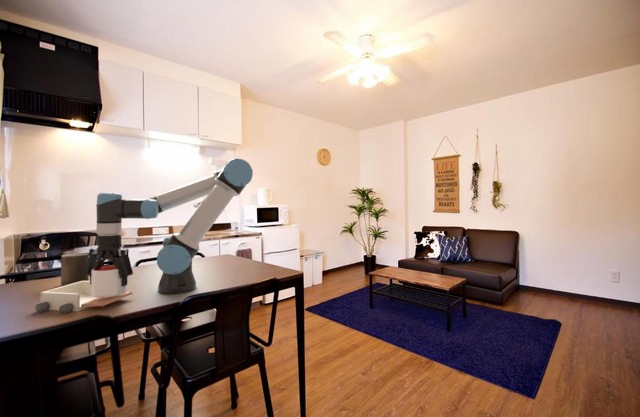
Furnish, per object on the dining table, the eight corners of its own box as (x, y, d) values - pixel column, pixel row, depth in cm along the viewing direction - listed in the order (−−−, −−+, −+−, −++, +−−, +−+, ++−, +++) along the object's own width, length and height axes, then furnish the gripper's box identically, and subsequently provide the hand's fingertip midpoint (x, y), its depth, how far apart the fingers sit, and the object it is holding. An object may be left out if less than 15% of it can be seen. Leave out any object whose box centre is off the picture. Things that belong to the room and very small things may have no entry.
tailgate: (112, 295, 113) (132, 294, 112) (81, 306, 100) (103, 305, 99) (112, 292, 113) (131, 291, 112) (80, 304, 100) (102, 303, 99)
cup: (107, 300, 100) (107, 271, 100) (84, 297, 102) (84, 270, 102) (131, 291, 110) (131, 265, 110) (109, 289, 112) (110, 264, 112)
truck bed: (119, 295, 117) (119, 280, 117) (69, 314, 96) (70, 296, 96) (88, 293, 118) (88, 279, 118) (32, 312, 97) (32, 294, 97)
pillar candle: (86, 285, 130) (87, 252, 130) (58, 288, 124) (59, 254, 124) (89, 280, 138) (90, 249, 138) (63, 283, 133) (63, 251, 133)
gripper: (144, 234, 108) (144, 292, 109) (90, 232, 111) (89, 289, 111) (129, 236, 101) (129, 298, 101) (71, 234, 103) (71, 295, 103)
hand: (108, 293), depth 106 cm, fingers closed on cup, 10 cm apart
